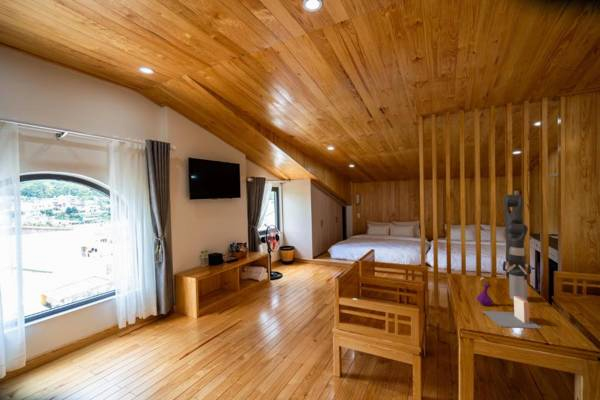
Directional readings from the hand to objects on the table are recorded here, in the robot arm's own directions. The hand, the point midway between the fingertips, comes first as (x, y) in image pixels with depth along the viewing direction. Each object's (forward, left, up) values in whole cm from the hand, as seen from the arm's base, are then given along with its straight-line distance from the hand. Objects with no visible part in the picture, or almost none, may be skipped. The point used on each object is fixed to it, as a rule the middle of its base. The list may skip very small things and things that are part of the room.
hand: (516, 278), depth 172 cm
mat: (+27, -3, -18) cm, 33 cm away
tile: (+24, +2, -18) cm, 30 cm away
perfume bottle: (+9, -17, -18) cm, 26 cm away
